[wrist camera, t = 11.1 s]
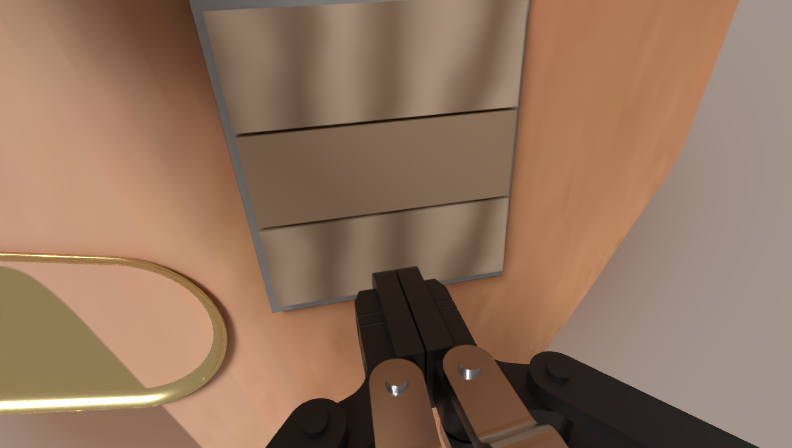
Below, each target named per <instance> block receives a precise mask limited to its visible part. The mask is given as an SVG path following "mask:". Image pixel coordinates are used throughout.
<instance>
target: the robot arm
mask: <svg viewBox="0 0 792 448" xmlns="http://www.w3.org/2000/svg"><path fill="white" fill-rule="evenodd" d="M372 287H373V289H368V290H362V291H359V292H358V295H357V298H356V300H355V313H356V322H357V331H358V339H359V345H360V350H361V355H362V361H363V366H364V372H365V377H366V378H365V381H364V383H363V384H362V386H361V387H360V388H359V389H358V390H357V391H356V392H355V393H354V394H352V395H351V396H349V397H348V398H346V399H344V400H342V401H340V402H339V403H336V402H334V401H333V400H330V399H325V398H318V399H312V400H309V401H307V402H305V403H303V404H301V405H300V406H298V407H297V408H296V409H295V410H294V411H293V412H292V413H291V415H290V416H289V417H288V419H287V420H286V421H285V423H284V424H283V425H282V426H281V428H280V429H279V430H278V432H277V433H276V434H275V436H274V437H273V438H272V440H271V441H270V442H269V444H268V445H267V446H266V448H442V447H441V444H440V440H439V436H438V432H437V428H436V424H435V420H434V416H433V412H432V408H434V407H436V408H437V411H438V414H439V417H440V433H441V436H442V439H443V441H444V444H445V446H446V448H759V447H757V446H755V445H753V444H751V443H748V442H746V441H744V440H742V439H740V438H738V437H736V436H734V435H732V434H729V433H728V432H726V431H723V430H721V429H719V428H717V427H715V426H713V425H711V424H708V423H706V422H705V421H702V420H700V419H698V418H696V417H694V416H692V415H690V414H688V413H686V412H684V411H682V410H680V409H678V408H675V407H673V406H671V405H669V404H667V403H665V402H663V401H661V400H658V399H657V398H654V397H652V396H650V395H648V394H646V393H644V392H642V391H640V390H638V389H636V388H634V387H632V386H629V385H627V384H625V383H623V382H621V381H619V380H617V379H615V378H613V377H611V376H608V375H607V374H604V373H602V372H600V371H598V370H596V369H594V368H592V367H590V366H588V365H586V364H583V363H581V362H579V361H577V360H575V359H573V358H571V357H569V356H567V355H564V354H562V353H558V352H552V351H547V352H541V353H539V354H536V355H535V356H534V357H533V358H532V359H531V361H530V365H529V364H517V363H506V362H501V361H498V360H495V359H493V357H492V356H491V355H490V354H489V353H488V352H486V351H485V350H483V349H482V348H479V347H478V346H477V345H476V343H475V341H474V339H473V337H472V336H471V334H470V332H469V330H468V328H467V326H466V324H465V322H464V320H463V319H462V317H461V315H460V313H459V311H458V310H457V307H456V305H455V303H454V302H453V301H452V298H451V296H450V294H449V292H448V290H447V288H446V287H445V286H444V285H442V284H441V283H440V282H439V281H437V280H436V279H429V280H424V279H423V277H422V275H421V273H420V271H419V268H418V267H417V266H413V267H406V268H400V269H395V271H394V270H388V271H382V272H375V273H372Z"/></svg>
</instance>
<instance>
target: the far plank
mask: <svg viewBox="0 0 792 448" xmlns="http://www.w3.org/2000/svg"><path fill="white" fill-rule="evenodd" d="M507 210H508V198H507V197H506V196H500V197H493V198H485V199H478V200H470V201H463V202H455V203H448V204H440V205H433V206H425V207H418V208H410V209H403V210H395V211H388V212H380V213H373V214H365V215H358V216H350V217H343V218H335V219H328V220H320V221H313V222H305V223H298V224H290V225H283V226H276V227H268V228H261V229H259V236H260V240H261V244H262V248H263V252H264V256H265V260H266V264H267V269H268V273H269V277H270V281H271V285H272V289H273V293H274V297H275V301H276V305H277V307H283V306H289V305H295V304H302V303H308V302H314V301H320V300H326V299H332V298H338V297H344V296H350V295H357V294H358V292H359V291H362V290H368V289H373V287H372V273H375V272H382V271H388V270H394V271H395V269H400V268H406V267H413V266H417V267H418V268H419V271H420V273H421V275H422V277H423V279H424V280H429V279H436V280H437V281H442V280H448V279H454V278H461V277H467V276H473V275H479V274H485V273H491V272H497V271H503V261H504V248H505V235H506V223H507Z"/></svg>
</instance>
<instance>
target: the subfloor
mask: <svg viewBox="0 0 792 448" xmlns="http://www.w3.org/2000/svg"><path fill="white" fill-rule="evenodd" d="M388 1H407V0H189V2H190V6H191V9H192V13H193V17H194V21H195V24H196V28H197V32H198V36H199V39H200V43H201V47H202V51H203V54H204V58H205V62H206V66H207V70H208V73H209V77H210V81H211V85H212V88H213V92H214V96H215V100H216V103H217V107H218V111H219V115H220V118H221V122H222V126H223V130H224V133H225V137H226V141H227V145H228V148H229V152H230V156H231V160H232V163H233V167H234V171H235V175H236V178H237V182H238V186H239V190H240V193H241V197H242V201H243V205H244V208H245V212H246V216H247V220H248V223H249V227H250V231H251V235H252V238H253V242H254V246H255V250H256V253H257V257H258V261H259V265H260V269H261V272H262V276H263V280H264V284H265V287H266V291H267V295H268V299H269V302H270V306H271V310H272V313H275V312H281V311H287V310H293V309H299V308H305V307H311V306H317V305H323V304H329V303H335V302H341V301H347V300H353V299H356V298H357V295H358V294H357V295H350V296H344V297H338V298H332V299H326V300H320V301H314V302H308V303H302V304H295V305H289V306H283V307H277V305H276V301H275V297H274V293H273V289H272V285H271V281H270V277H269V273H268V269H267V264H266V260H265V256H264V252H263V248H262V244H261V240H260V236H259V229H261V228H268V227H276V226H283V225H290V224H298V223H305V222H313V221H320V220H328V219H335V218H343V217H350V216H358V215H365V214H373V213H380V212H388V211H395V210H403V209H410V208H418V207H425V206H433V205H440V204H448V203H455V202H463V201H470V200H478V199H485V198H493V197H500V196H506V197H507V198H508V210H507V220H508V211H509V201H510V191H511V181H512V171H513V161H514V151H515V141H516V131H517V121H518V111H519V101H520V91H521V81H522V71H523V61H524V51H525V42H526V32H527V22H528V12H529V2H530V0H528V2H527V13H526V23H525V33H524V44H523V54H522V65H521V75H520V86H519V96H518V106H517V107H506V108H496V109H486V110H476V111H466V112H455V113H445V114H435V115H425V116H414V117H404V118H394V119H384V120H374V121H363V122H353V123H343V124H333V125H323V126H312V127H302V128H292V129H282V130H271V131H261V132H251V133H241V134H233V130H232V126H231V122H230V118H229V114H228V110H227V106H226V102H225V98H224V94H223V90H222V86H221V83H220V79H219V75H218V71H217V67H216V63H215V59H214V55H213V51H212V47H211V43H210V39H209V35H208V31H207V27H206V23H205V19H204V16H203V12H202V11H218V10H237V9H256V8H275V7H294V6H313V5H332V4H351V3H370V2H388ZM506 230H507V223H506ZM505 240H506V235H505ZM504 250H505V248H504ZM499 275H502V271H497V272H491V273H485V274H479V275H473V276H467V277H461V278H454V279H448V280H442V281H439V282H440V283H441V284H442V285H444V284H450V283H456V282H462V281H469V280H475V279H481V278H487V277H493V276H499Z"/></svg>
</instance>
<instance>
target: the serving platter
mask: <svg viewBox="0 0 792 448" xmlns="http://www.w3.org/2000/svg"><path fill="white" fill-rule="evenodd" d="M25 257H26V258H25ZM51 258H52V259H51ZM77 259H78V260H77ZM103 260H104V261H103ZM0 261H12V262H41V263H70V264H99V265H121V266H130V267H136V268H141V269H145V270H149V271H152V272H155V273H158V274H160V275H163V276H165V277H167V278H170V279H172V280H174V281H175V282H177V283H179V284H180V285H182V286H183V287H185V288H186V289H188V290H189V291H190V292H191V293H193V294H194V295H195V296H196V297H197V298H198V299H199V301H200V302H201V303H202V304H203V305H204V307H205V308H206V310H207V312H208V314H209V316H210V318H211V321H212V325H213V331H214V339H213V344H212V347H211V350H210V352H209V354H208V356H207V357H206V359H205V360H204V361H203V363H202V364H201V365H200V366H199V367H198V368H197V369H195V370H194V371H193V372H192V373H190V374H189V375H187V376H185V377H183V378H182V379H179V380H177V381H175V382H172V383H169V384H166V385H163V386H158V387H154V388H147V389H146V387H145V386H144V385H143V384H142V383H141V382H140V381H139V380H138V379H137V378H136V377H135V376H134V375H133V374H132V372H130V370H129V369H128V368H127V367H126V366H125V365H124V364H123V363H122V362H121V361H120V360H119V359H118V358H117V356H115V354H113V352H112V351H111V350H110V349H109V348H108V347H107V346H106V345H105V344H104V343H103V342H102V341H101V340H100V339H99V337H97V335H96V334H95V333H94V332H93V331H92V330H91V329H90V328H89V327H88V326H87V325H86V324H85V323H84V322H83V321H82V319H80V317H79V316H77V314H75V312H74V311H72V309H70V308H69V306H67V305H66V304H65V303H64V302H63V301H62V300H61V299H60V298H59V297H57V296H56V295H55V294H54V293H53V292H52V291H51V290H49V289H48V288H47V287H46V286H44V285H43V284H42V283H40V282H39V281H37V280H36V279H34V278H33V277H31V276H30V275H28V274H26V273H23V272H22V271H19V270H16V269H12V268H10V267H4V266H0V414H18V413H39V412H40V413H41V412H62V411H84V410H106V409H125V408H126V409H127V408H142V407H150V406H156V405H160V404H164V403H168V402H171V401H174V400H177V399H180V398H182V397H184V396H186V395H188V394H190V393H192V392H194V391H196V390H197V389H199V388H200V387H202V386H203V385H204V384H205V383H207V382H208V381H209V380H210V379H211V378H212V377H213V375H214V374H215V373H216V372H217V370H218V369H219V367H220V366H221V364H222V362H223V360H224V357H225V354H226V350H227V340H228V338H227V330H226V326H225V323H224V320H223V317H222V315H221V313H220V312H219V310H218V308H217V307H216V305H215V304H214V303H213V302H212V300H211V299H210V298H209V297H208V296H207V295H206V294H205V293H204V292H203V291H202V290H201V289H200V288H198V287H197V286H196V285H195V284H193V283H192V282H190V281H189V280H188V279H186V278H184V277H183V276H181V275H179V274H177V273H175V272H173V271H171V270H169V269H166V268H164V267H161V266H159V265H156V264H152V263H149V262H145V261H141V260H137V259H131V258H125V257H115V256H95V255H71V254H46V253H22V252H0ZM209 305H210V306H209ZM211 308H212V309H211ZM214 313H215V314H214ZM219 326H220V327H219ZM220 331H221V332H220Z"/></svg>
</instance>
